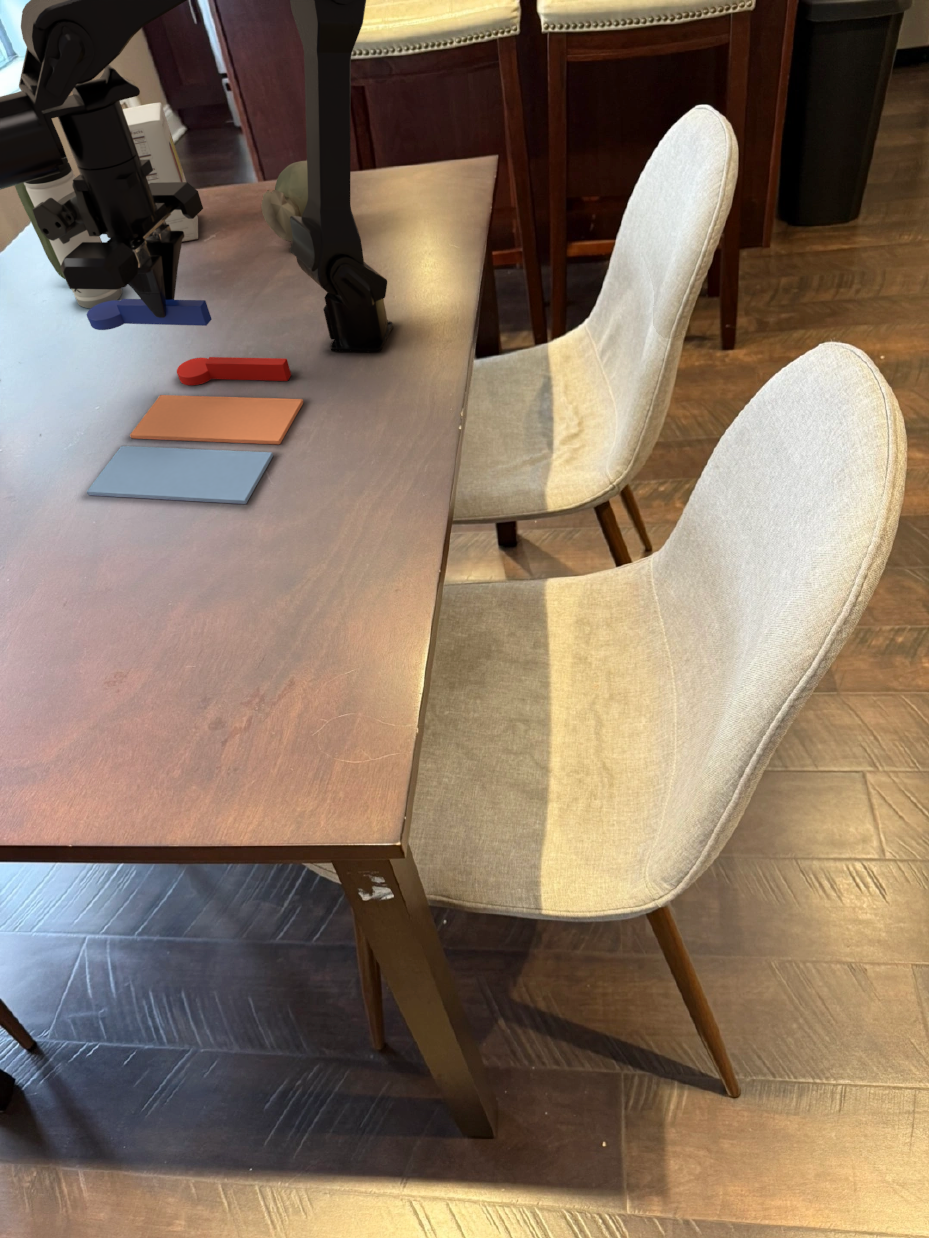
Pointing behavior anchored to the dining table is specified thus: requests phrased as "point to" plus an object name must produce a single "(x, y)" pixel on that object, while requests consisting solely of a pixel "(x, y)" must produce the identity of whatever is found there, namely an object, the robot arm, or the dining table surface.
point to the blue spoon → (147, 313)
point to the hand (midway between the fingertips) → (165, 313)
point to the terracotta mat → (218, 419)
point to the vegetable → (44, 241)
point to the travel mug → (57, 189)
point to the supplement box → (159, 157)
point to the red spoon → (233, 369)
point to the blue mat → (182, 474)
